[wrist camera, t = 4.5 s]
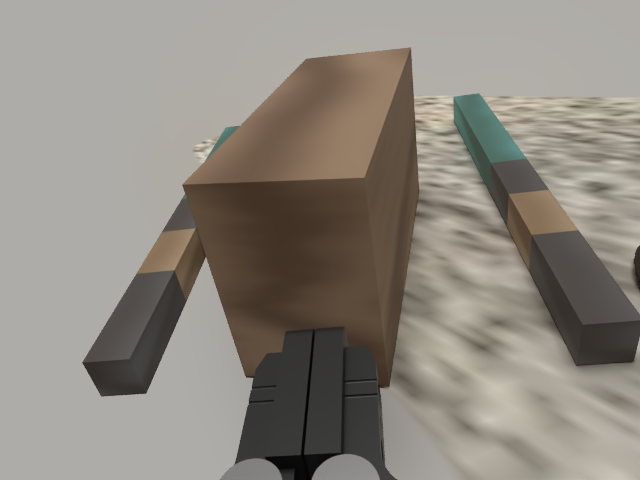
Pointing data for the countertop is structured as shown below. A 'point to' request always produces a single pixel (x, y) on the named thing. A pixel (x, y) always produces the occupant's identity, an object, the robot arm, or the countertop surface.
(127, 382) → the lane
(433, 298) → the countertop surface
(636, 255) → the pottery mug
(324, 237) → the walnut block
